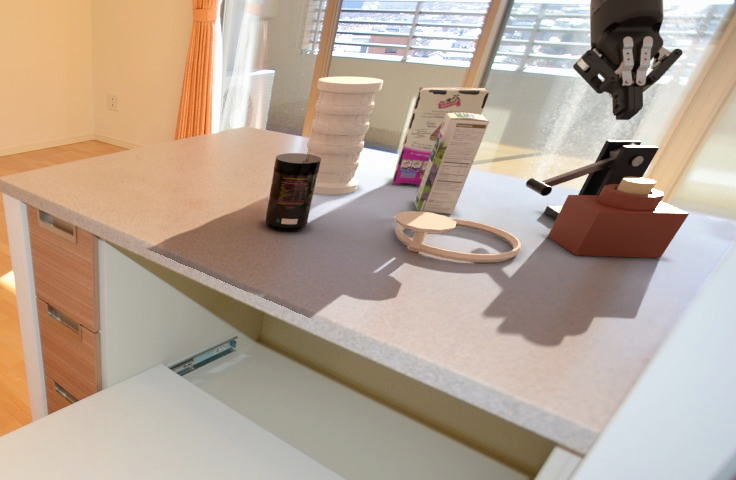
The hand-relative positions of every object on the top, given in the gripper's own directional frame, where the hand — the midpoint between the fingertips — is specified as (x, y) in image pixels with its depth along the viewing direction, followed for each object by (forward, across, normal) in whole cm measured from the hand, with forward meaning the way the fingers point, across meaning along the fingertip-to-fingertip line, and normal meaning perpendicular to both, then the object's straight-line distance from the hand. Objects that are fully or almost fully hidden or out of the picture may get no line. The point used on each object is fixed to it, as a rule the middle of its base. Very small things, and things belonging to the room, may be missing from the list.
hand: (627, 116), depth 76 cm
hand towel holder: (+18, +22, -5) cm, 28 cm away
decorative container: (-4, +34, -27) cm, 43 cm away
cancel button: (+12, -1, 0) cm, 12 cm away
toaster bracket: (+9, -4, -13) cm, 17 cm away
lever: (+4, 0, -9) cm, 10 cm away
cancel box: (+17, 0, -6) cm, 18 cm away
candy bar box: (-6, +14, -29) cm, 33 cm away
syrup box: (+5, +18, -18) cm, 25 cm away
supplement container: (+13, +44, -9) cm, 47 cm away
